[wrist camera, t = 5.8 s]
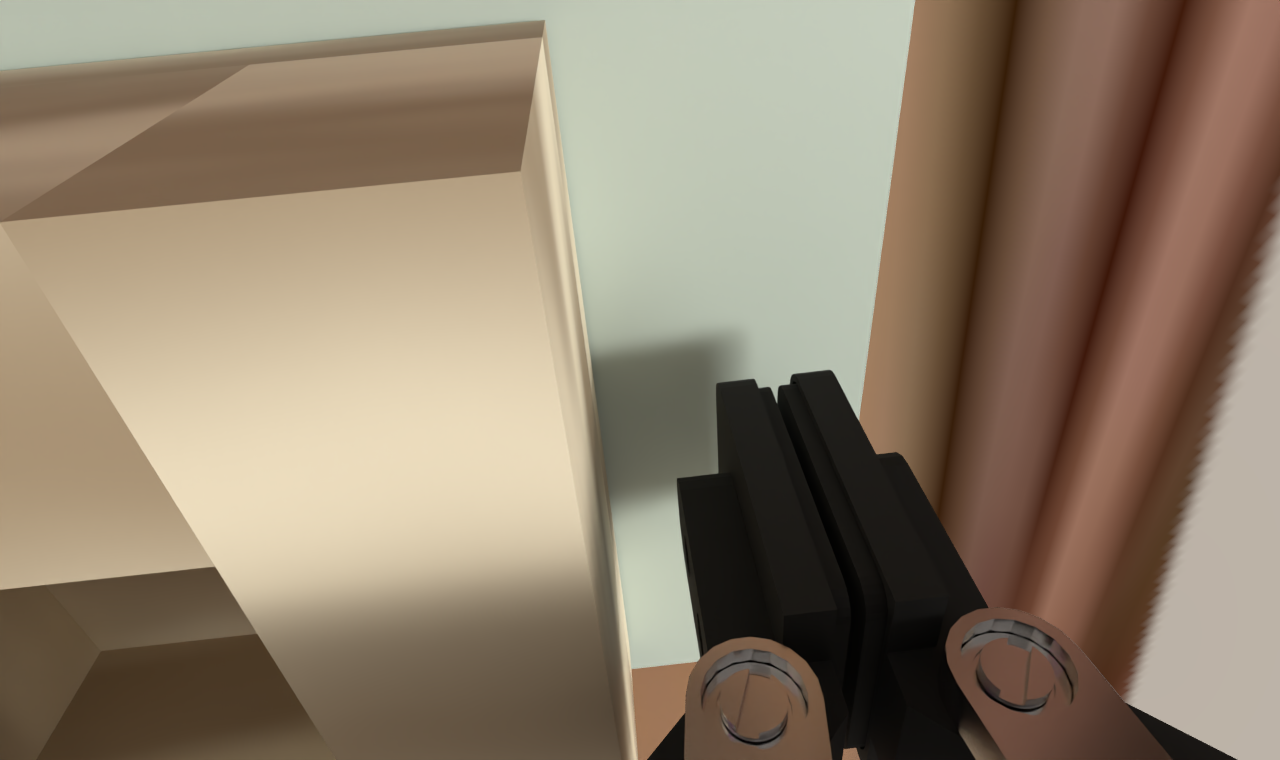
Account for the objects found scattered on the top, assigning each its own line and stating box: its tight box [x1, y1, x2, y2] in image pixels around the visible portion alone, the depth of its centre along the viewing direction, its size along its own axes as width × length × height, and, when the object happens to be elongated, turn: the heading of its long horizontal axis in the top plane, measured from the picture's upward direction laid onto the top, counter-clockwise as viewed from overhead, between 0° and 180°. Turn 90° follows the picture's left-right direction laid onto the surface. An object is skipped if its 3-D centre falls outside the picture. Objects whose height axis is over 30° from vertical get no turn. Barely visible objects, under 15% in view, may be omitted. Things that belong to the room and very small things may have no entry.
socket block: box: [0, 20, 638, 760], centre depth 10 cm, size 12×12×5 cm
